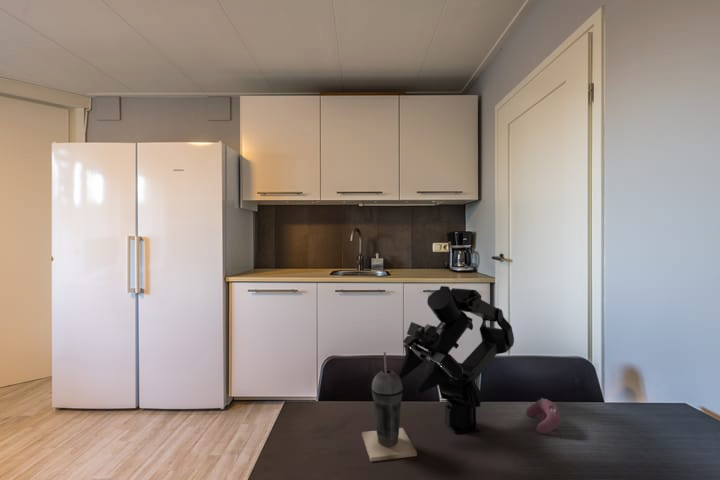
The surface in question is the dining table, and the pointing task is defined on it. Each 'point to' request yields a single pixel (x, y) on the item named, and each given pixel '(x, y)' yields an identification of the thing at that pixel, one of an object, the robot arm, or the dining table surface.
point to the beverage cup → (387, 405)
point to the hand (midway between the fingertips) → (408, 384)
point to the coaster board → (383, 452)
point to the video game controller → (545, 415)
